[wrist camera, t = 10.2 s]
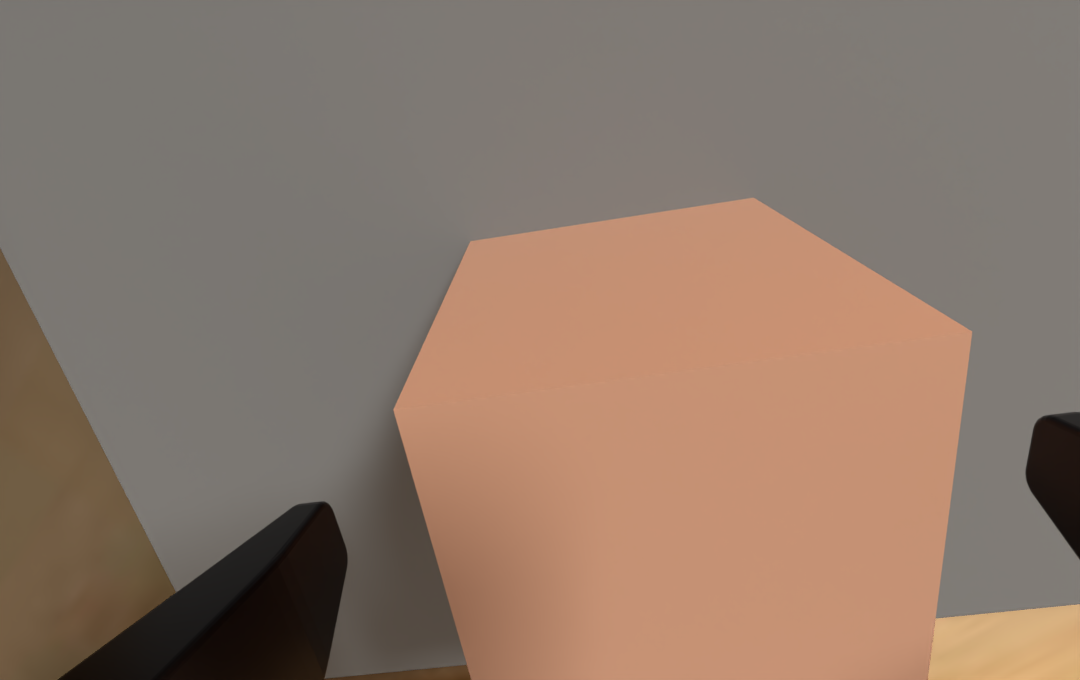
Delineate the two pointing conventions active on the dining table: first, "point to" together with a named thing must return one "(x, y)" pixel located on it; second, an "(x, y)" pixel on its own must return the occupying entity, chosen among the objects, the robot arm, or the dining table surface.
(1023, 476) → the mat
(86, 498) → the dining table surface
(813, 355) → the block
